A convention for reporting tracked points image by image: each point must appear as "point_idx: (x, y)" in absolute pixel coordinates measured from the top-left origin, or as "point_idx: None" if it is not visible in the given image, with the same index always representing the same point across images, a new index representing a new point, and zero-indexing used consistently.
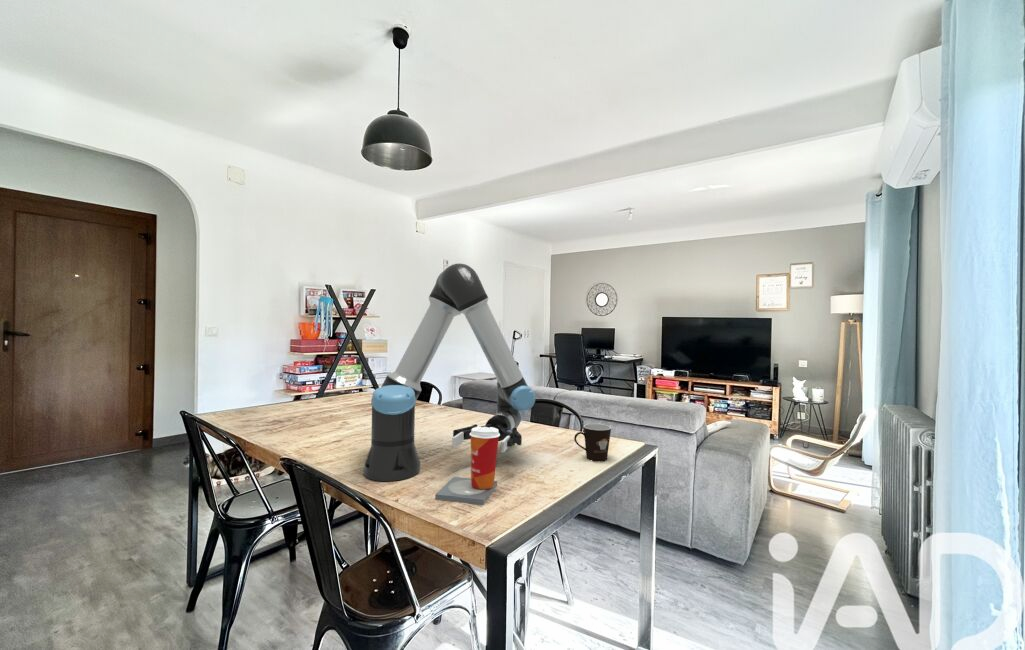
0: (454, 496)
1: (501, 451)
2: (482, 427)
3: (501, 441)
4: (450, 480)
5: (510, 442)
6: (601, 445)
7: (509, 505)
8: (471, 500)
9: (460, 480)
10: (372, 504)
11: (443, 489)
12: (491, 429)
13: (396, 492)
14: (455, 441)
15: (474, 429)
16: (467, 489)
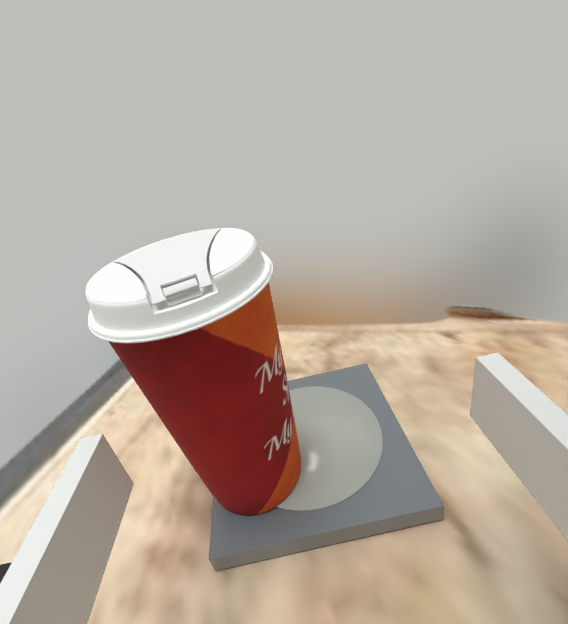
0: (308, 376)
1: (127, 479)
2: (199, 270)
3: (97, 443)
4: (414, 459)
5: (7, 567)
6: None
7: (152, 436)
8: None
9: (376, 479)
10: (471, 307)
11: (370, 391)
12: (131, 273)
13: (505, 355)
14: (478, 387)
15: (231, 235)
16: (295, 421)
